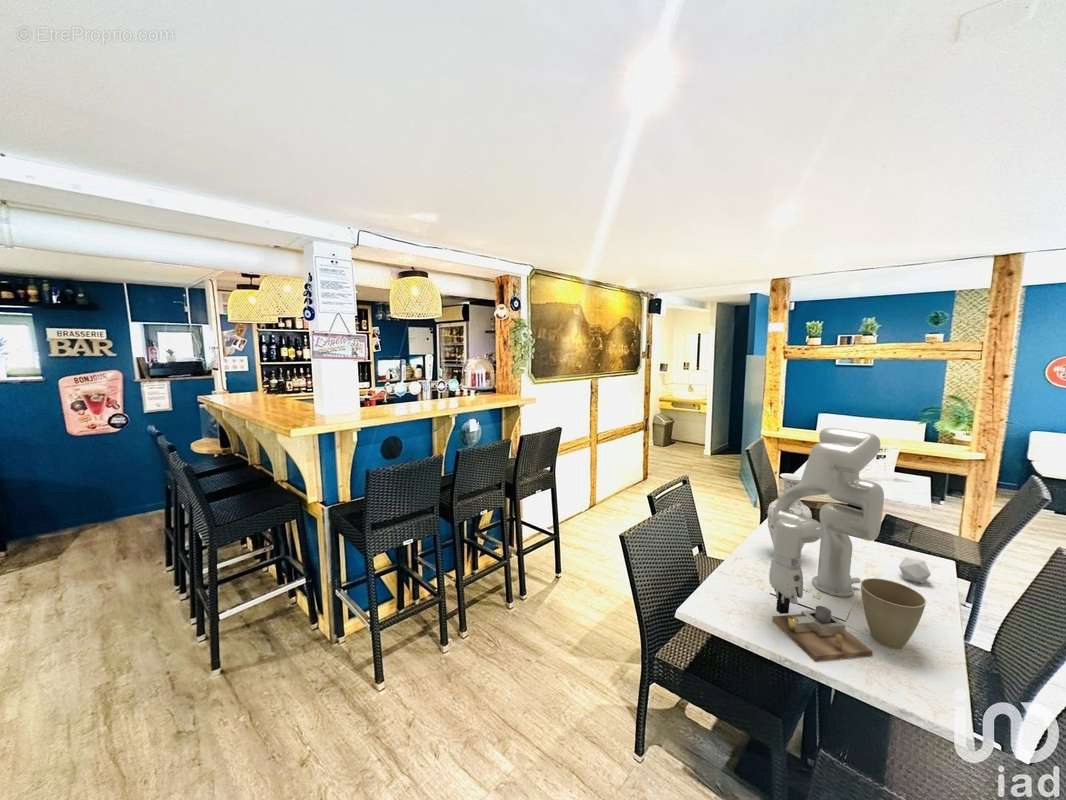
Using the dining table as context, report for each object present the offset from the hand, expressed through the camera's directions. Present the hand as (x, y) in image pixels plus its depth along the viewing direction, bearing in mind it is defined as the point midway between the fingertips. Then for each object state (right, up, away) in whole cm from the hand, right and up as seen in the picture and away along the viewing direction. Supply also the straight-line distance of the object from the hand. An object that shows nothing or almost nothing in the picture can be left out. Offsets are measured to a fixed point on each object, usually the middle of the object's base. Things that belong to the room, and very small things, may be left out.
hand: (782, 612), depth 137 cm
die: (+64, 0, +24) cm, 69 cm away
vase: (+27, +2, +43) cm, 50 cm away
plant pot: (+26, -4, -9) cm, 28 cm away
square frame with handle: (+5, -2, -6) cm, 8 cm away
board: (+7, -4, -8) cm, 11 cm away
